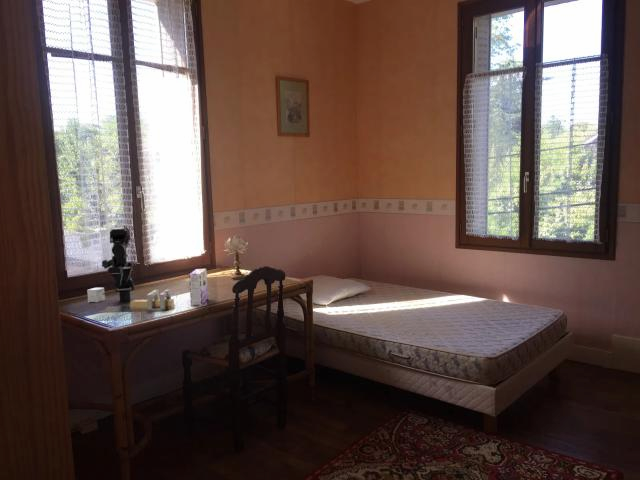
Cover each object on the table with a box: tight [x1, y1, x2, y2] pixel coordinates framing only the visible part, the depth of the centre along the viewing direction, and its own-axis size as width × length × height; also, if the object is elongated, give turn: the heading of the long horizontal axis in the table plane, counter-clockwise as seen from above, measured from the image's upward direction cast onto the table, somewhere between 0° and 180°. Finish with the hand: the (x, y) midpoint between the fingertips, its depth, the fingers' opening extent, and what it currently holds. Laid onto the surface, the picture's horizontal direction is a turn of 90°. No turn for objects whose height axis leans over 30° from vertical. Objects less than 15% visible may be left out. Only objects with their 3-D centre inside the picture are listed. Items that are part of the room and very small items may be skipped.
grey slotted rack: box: [97, 288, 176, 314], centre depth 261 cm, size 12×34×9 cm, turn 89°
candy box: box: [188, 268, 209, 307], centre depth 273 cm, size 14×6×16 cm, turn 178°
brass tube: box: [129, 298, 175, 310], centre depth 261 cm, size 4×20×4 cm, turn 89°
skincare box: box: [86, 287, 106, 304], centre depth 282 cm, size 6×6×7 cm
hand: (122, 284), depth 266 cm, fingers open, 9 cm apart
